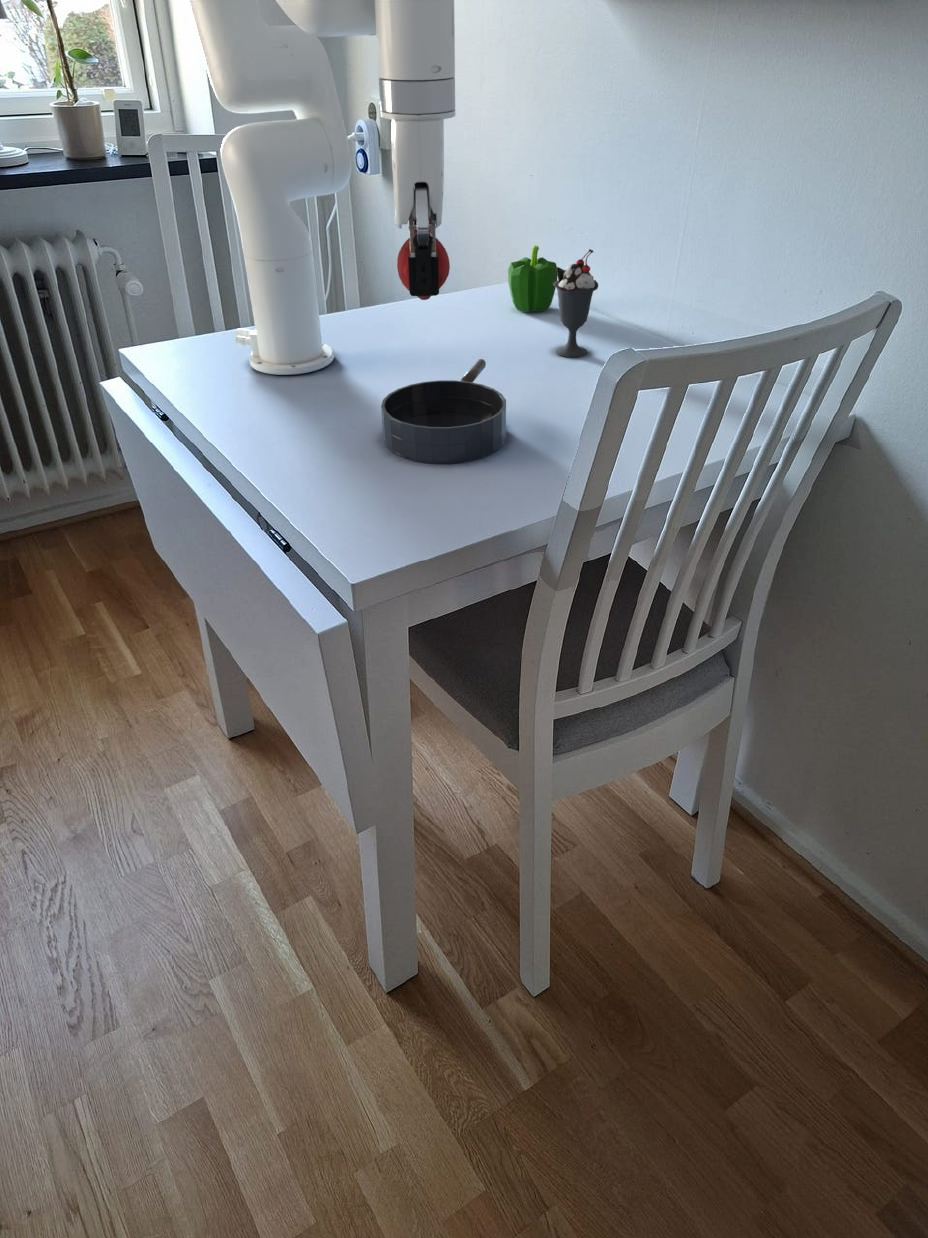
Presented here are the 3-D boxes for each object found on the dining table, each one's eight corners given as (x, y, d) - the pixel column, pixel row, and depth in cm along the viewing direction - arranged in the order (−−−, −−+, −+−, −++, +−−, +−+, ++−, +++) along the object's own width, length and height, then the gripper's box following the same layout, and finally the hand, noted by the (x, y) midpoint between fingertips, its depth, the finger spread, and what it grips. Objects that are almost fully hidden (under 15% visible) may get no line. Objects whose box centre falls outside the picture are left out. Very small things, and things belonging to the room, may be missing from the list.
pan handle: (467, 392, 112) (466, 382, 111) (456, 391, 112) (456, 381, 112) (487, 367, 119) (487, 357, 119) (477, 367, 120) (477, 357, 119)
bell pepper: (541, 319, 147) (544, 256, 141) (500, 311, 150) (500, 250, 144) (564, 306, 152) (568, 245, 146) (524, 299, 156) (525, 240, 150)
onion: (444, 309, 95) (442, 231, 90) (393, 306, 96) (389, 228, 91) (454, 293, 100) (453, 218, 95) (405, 291, 101) (402, 216, 96)
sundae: (600, 356, 131) (609, 251, 123) (559, 361, 130) (564, 255, 121) (583, 342, 136) (590, 241, 128) (543, 347, 135) (547, 245, 126)
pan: (365, 455, 104) (362, 420, 102) (408, 408, 116) (407, 375, 114) (486, 470, 101) (486, 434, 98) (518, 420, 112) (519, 386, 110)
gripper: (381, 90, 93) (390, 266, 104) (378, 110, 79) (389, 310, 90) (451, 89, 93) (453, 264, 104) (460, 109, 79) (461, 309, 90)
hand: (423, 284), depth 97 cm, fingers closed on onion, 6 cm apart
